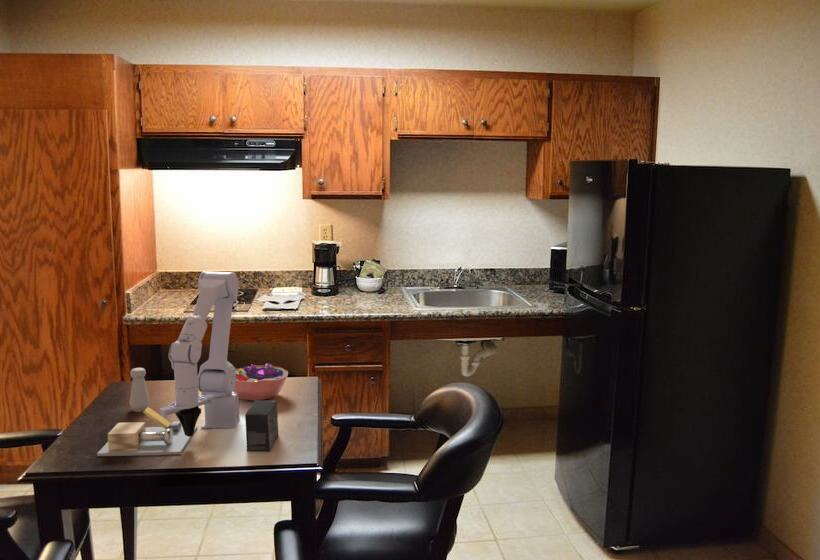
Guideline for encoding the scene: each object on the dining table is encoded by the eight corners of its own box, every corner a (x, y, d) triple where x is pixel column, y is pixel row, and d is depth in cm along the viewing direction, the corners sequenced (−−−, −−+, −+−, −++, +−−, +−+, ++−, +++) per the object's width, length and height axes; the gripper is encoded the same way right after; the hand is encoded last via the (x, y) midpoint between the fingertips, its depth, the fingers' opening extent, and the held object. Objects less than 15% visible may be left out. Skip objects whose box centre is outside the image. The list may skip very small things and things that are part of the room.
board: (197, 428, 190) (197, 426, 189) (180, 454, 173) (180, 451, 173) (121, 430, 188) (121, 427, 188) (97, 456, 172) (97, 453, 171)
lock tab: (171, 426, 188) (173, 424, 188) (167, 431, 185) (169, 428, 185) (146, 408, 187) (148, 406, 187) (142, 413, 183) (144, 410, 183)
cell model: (234, 388, 224) (233, 356, 222) (294, 390, 223) (293, 357, 221) (218, 406, 207) (217, 371, 205) (282, 408, 206) (281, 372, 204)
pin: (173, 440, 179) (172, 426, 179) (168, 446, 175) (168, 432, 175) (126, 441, 179) (125, 427, 178) (121, 447, 175) (120, 433, 174)
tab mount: (181, 427, 188) (180, 421, 188) (178, 432, 185) (177, 425, 185) (173, 428, 188) (173, 421, 188) (170, 432, 185) (170, 425, 185)
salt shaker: (143, 414, 201) (140, 372, 198) (125, 412, 202) (123, 371, 200) (154, 407, 206) (151, 366, 204) (137, 405, 207) (134, 365, 205)
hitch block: (146, 438, 181) (145, 422, 180) (136, 450, 173) (135, 433, 172) (119, 439, 180) (118, 422, 179) (108, 451, 173) (107, 433, 172)
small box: (255, 435, 185) (254, 399, 184) (279, 436, 185) (278, 399, 183) (245, 451, 175) (243, 413, 173) (270, 452, 175) (268, 413, 173)
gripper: (202, 376, 183) (204, 423, 185) (152, 389, 172) (155, 439, 174) (217, 381, 178) (219, 430, 181) (167, 395, 168) (170, 446, 170)
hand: (189, 435), depth 177 cm, fingers closed
